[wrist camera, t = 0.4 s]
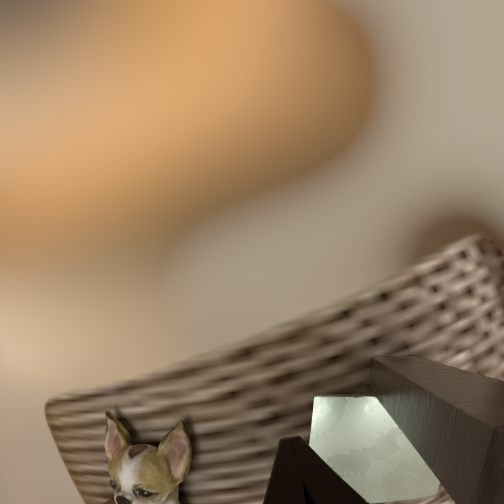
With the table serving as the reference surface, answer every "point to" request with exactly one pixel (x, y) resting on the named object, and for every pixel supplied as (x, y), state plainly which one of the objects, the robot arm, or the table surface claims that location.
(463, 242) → the table surface
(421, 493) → the press
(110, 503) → the brown angular piece
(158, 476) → the ceramic sculpture
